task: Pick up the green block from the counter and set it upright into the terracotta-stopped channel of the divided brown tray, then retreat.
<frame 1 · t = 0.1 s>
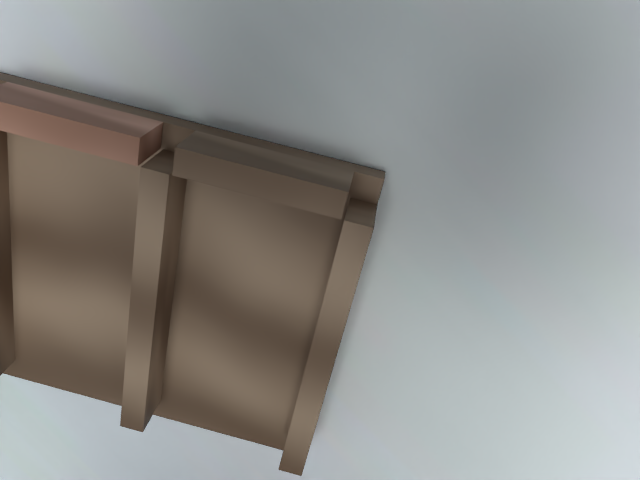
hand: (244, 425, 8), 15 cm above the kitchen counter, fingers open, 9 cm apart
divided brown tray: (169, 279, 25), on the kitchen counter
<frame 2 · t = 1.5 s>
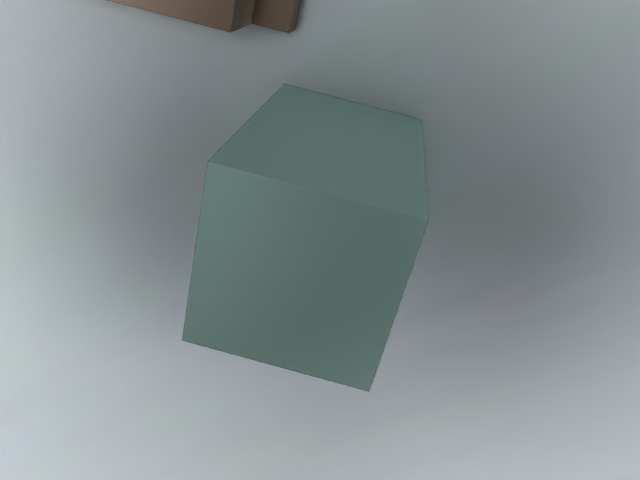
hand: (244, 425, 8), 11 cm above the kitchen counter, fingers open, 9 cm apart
green block: (336, 167, 17), on the kitchen counter
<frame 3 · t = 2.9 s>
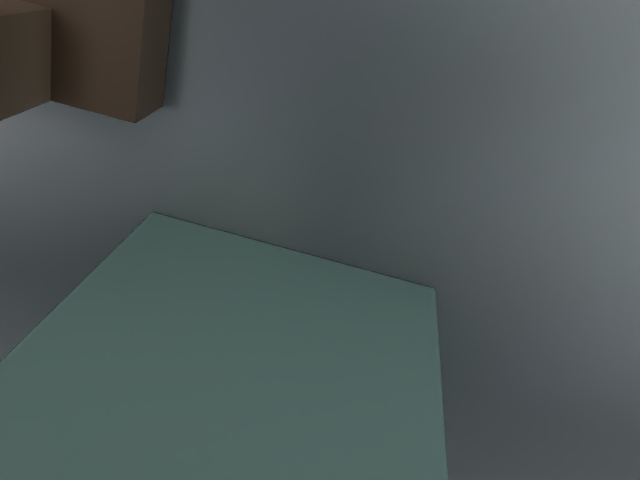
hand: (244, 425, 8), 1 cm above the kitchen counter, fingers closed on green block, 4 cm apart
green block: (266, 362, 9), on the kitchen counter, touching gripper
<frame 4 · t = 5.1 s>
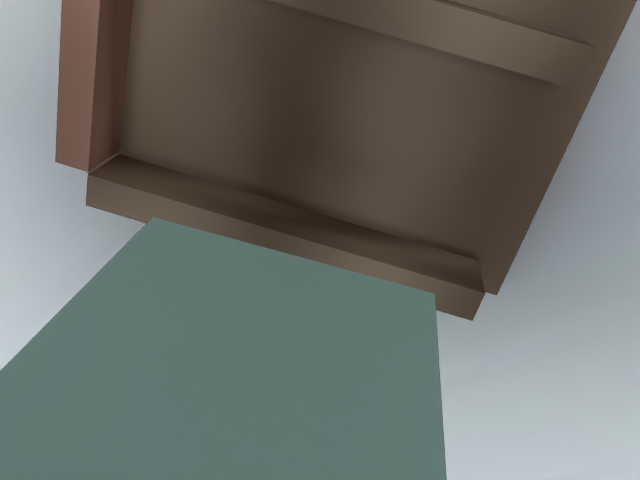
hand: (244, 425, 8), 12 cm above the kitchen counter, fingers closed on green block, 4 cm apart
green block: (266, 366, 9), point 11 cm above the kitchen counter, touching gripper
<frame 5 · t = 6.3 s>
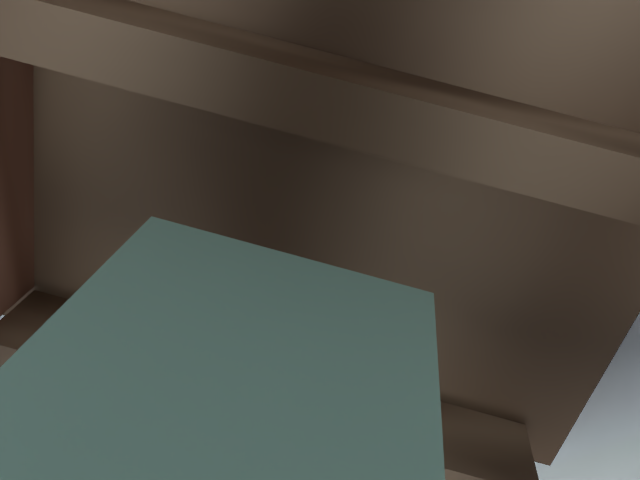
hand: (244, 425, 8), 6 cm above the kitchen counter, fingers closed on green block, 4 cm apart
divided brown tray: (346, 77, 11), on the kitchen counter
green block: (265, 366, 9), point 5 cm above the kitchen counter, touching gripper
when the fingers open (3 cm above the kitchen counter, at t = 7.1 s): green block drops 1 cm, resting on divided brown tray.
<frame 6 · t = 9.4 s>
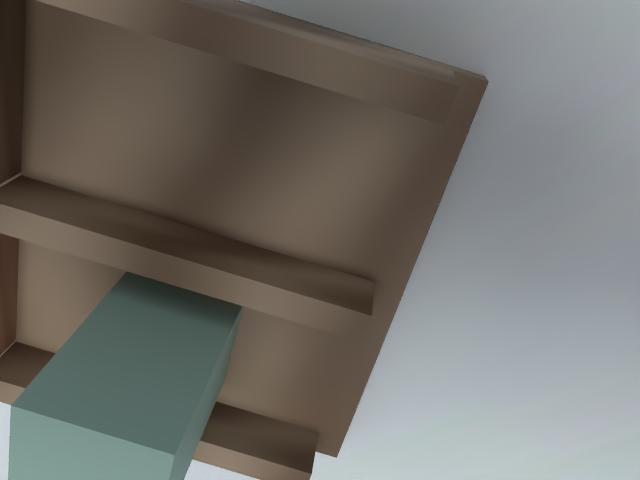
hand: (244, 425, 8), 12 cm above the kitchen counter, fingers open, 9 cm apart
divided brown tray: (203, 231, 20), on the kitchen counter
green block: (180, 326, 21), point 1 cm above the kitchen counter, touching divided brown tray
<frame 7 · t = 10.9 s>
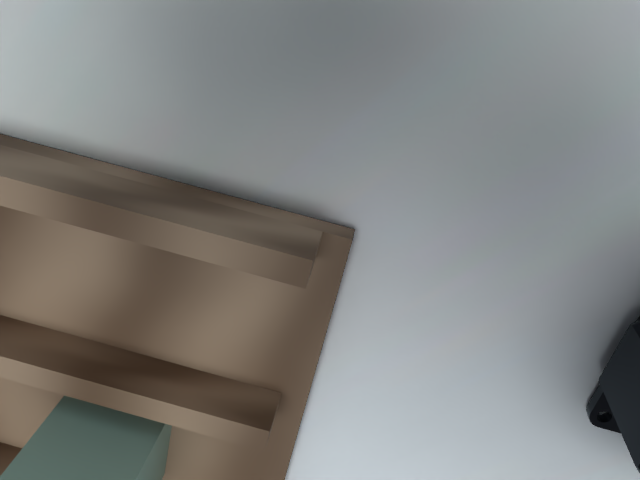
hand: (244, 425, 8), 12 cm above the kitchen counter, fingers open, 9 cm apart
divided brown tray: (137, 348, 23), on the kitchen counter
green block: (123, 427, 24), point 1 cm above the kitchen counter, touching divided brown tray
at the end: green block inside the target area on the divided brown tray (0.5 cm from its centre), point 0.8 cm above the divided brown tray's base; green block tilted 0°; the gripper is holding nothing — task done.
